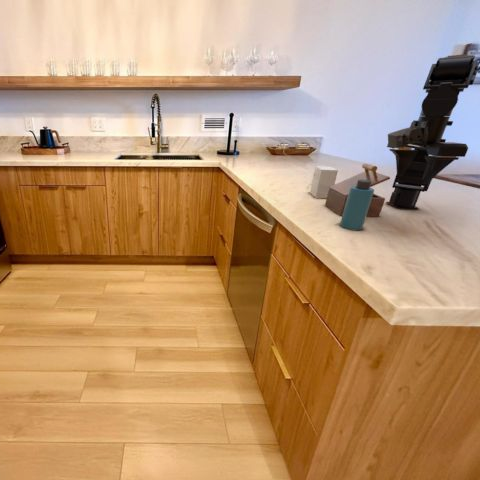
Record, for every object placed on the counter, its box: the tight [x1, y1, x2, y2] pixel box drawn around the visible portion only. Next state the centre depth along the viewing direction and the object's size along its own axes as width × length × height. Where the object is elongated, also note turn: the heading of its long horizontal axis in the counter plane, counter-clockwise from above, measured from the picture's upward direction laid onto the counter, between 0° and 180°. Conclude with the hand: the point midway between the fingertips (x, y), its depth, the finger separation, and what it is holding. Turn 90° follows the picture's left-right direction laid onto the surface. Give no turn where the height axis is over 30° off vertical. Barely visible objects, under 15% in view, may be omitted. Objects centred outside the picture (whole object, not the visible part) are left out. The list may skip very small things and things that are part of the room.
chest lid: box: [329, 163, 391, 197], centre depth 89 cm, size 12×11×4 cm
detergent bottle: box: [339, 180, 375, 231], centre depth 78 cm, size 5×5×13 cm
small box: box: [309, 165, 339, 199], centre depth 108 cm, size 8×6×10 cm
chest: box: [324, 189, 386, 218], centre depth 92 cm, size 12×11×6 cm
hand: (411, 179), depth 77 cm, fingers open, 9 cm apart
